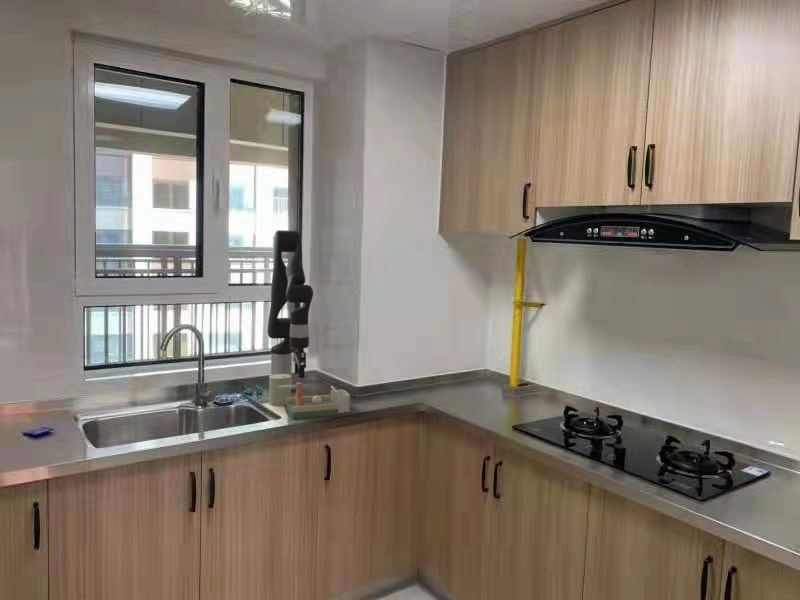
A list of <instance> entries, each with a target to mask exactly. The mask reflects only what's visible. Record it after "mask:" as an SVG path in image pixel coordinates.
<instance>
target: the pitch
mask: <svg viewBox="0 0 800 600" xmlns="http://www.w3.org/2000/svg"><path fill="white" fill-rule="evenodd" d="M314 396H315V395H310V396H309V395H308V396H303V398H304V406H297V405H296V404H295V396H294V397H291V398H286V405H285V408H286V410H287V412H288V414H289V415H290V418H291V419H292V418H297V419H306V418H305V417H309V418H317V417H316V416H321V417H328V416H327V415H333V416H338V415H339V413H338V403H336V404H333V403H332V402H331V394H323V395H319V396H320V397H321V399H322V402H321V404H320V405H314V404H313V403H312V398H313V397H314Z"/></svg>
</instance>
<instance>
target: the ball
mask: <svg viewBox="0 0 800 600" xmlns="http://www.w3.org/2000/svg"><path fill="white" fill-rule="evenodd" d="M313 396H314V397H313V398H312V403H313V404H314V405H320V404H321V402H322V399H321V397H320V395H313Z"/></svg>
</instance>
